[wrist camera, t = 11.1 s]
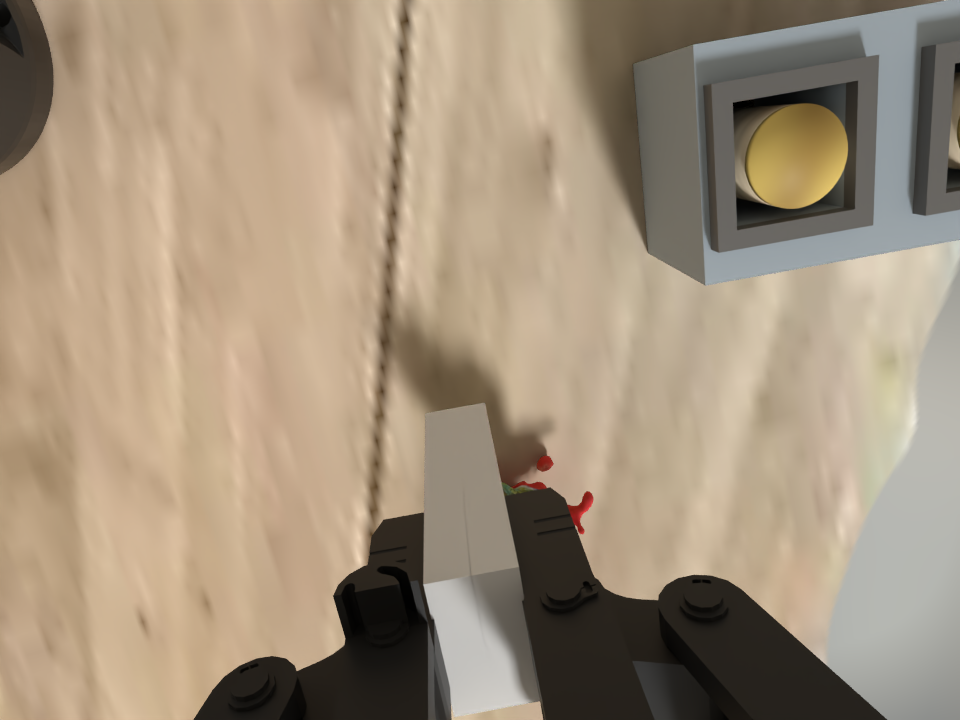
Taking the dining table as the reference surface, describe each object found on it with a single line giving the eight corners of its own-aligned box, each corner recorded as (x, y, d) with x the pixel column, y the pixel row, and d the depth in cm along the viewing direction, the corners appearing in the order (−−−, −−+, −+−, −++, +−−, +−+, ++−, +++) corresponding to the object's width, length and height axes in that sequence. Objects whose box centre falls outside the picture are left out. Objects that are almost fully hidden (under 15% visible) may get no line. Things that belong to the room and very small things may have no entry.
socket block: (648, 253, 45) (712, 289, 35) (633, 63, 41) (701, 41, 31) (933, 202, 46) (1081, 223, 35) (945, 9, 42) (1116, -31, 31)
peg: (683, 198, 43) (750, 216, 34) (678, 116, 41) (747, 112, 32) (759, 184, 43) (847, 199, 34) (757, 102, 41) (849, 94, 32)
